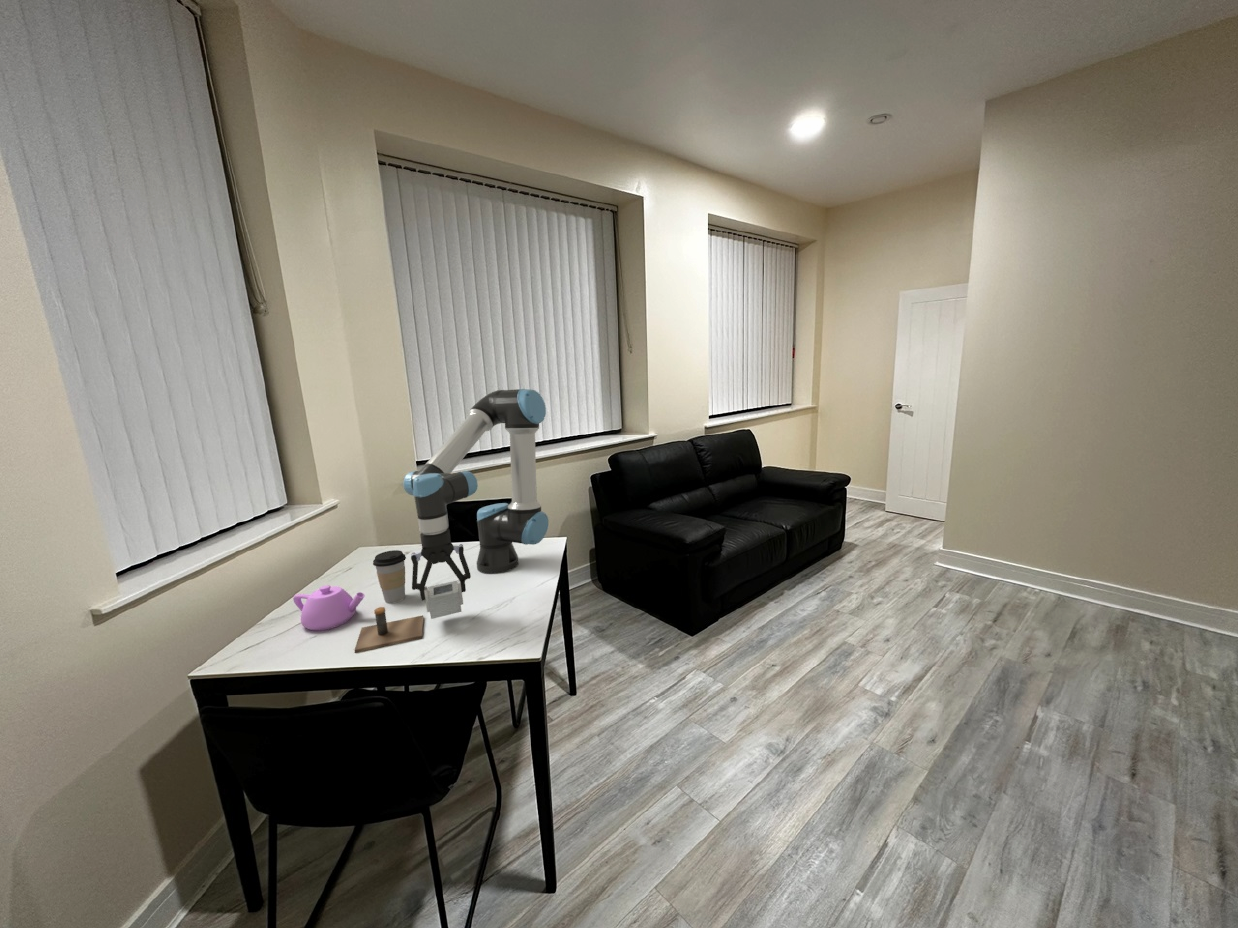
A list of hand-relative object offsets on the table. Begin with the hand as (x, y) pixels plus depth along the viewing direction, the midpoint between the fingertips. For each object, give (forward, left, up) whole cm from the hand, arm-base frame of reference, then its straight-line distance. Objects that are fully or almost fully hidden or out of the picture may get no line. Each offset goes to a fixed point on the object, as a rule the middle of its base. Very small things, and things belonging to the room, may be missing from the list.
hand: (445, 605), depth 130 cm
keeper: (+15, 0, -5) cm, 15 cm away
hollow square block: (0, 0, -1) cm, 1 cm away
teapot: (+32, -16, -5) cm, 36 cm away
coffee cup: (+16, -23, -5) cm, 29 cm away
